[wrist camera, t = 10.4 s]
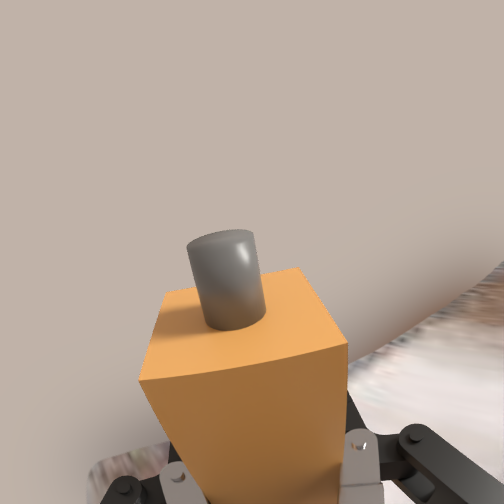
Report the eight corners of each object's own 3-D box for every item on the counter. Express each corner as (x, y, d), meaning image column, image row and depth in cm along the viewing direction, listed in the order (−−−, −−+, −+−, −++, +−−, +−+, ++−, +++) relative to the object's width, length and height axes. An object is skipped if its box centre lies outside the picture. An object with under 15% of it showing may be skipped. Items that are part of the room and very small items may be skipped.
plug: (243, 493, 15) (150, 234, 9) (315, 479, 15) (290, 207, 10) (250, 553, 10) (103, 296, 5) (333, 538, 11) (344, 250, 5)
